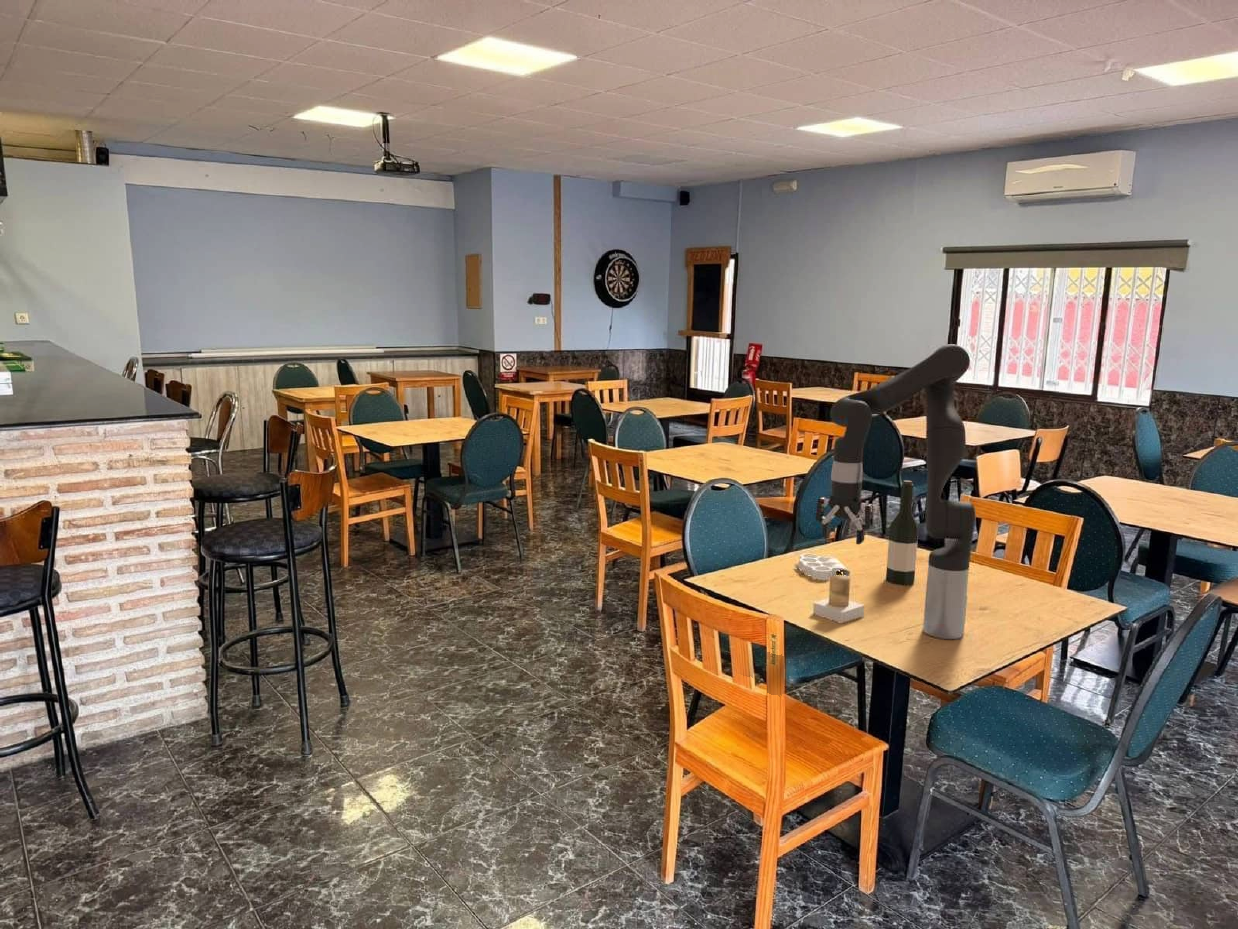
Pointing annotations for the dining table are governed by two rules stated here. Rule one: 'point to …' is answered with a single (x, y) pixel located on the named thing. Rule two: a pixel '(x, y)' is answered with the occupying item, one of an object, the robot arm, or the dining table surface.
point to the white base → (838, 611)
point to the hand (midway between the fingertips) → (842, 540)
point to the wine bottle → (903, 541)
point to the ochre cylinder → (839, 590)
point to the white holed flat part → (820, 566)
